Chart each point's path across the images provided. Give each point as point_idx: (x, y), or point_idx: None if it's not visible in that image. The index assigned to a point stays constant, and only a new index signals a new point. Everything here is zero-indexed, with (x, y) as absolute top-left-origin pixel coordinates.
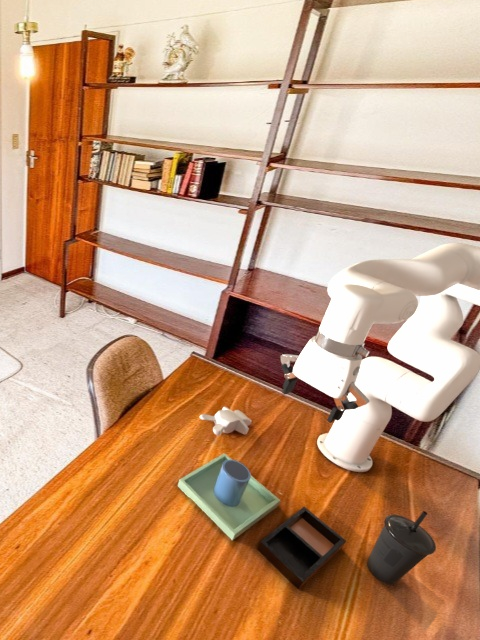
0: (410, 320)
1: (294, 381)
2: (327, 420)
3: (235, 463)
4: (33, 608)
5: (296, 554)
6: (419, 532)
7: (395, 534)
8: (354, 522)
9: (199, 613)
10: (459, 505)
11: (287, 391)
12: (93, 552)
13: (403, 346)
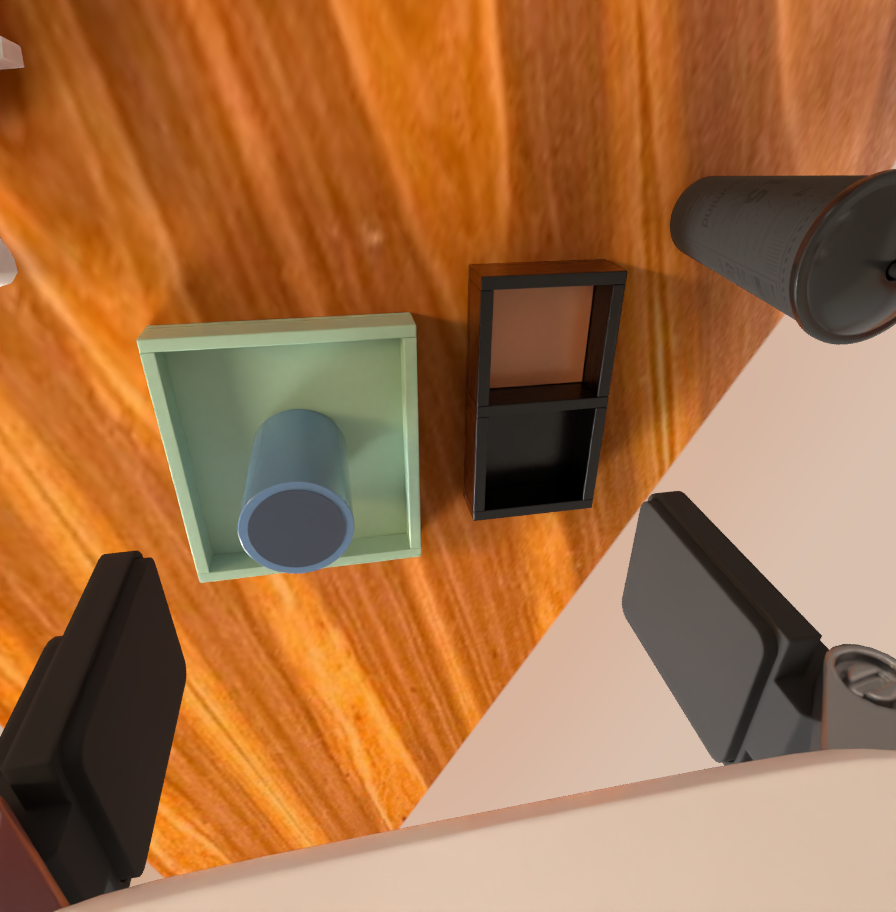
0: None
1: (115, 770)
2: (625, 606)
3: (268, 511)
4: None
5: (534, 414)
6: None
7: (829, 330)
8: (600, 71)
9: (480, 679)
10: None
11: (174, 692)
12: (293, 787)
13: None
